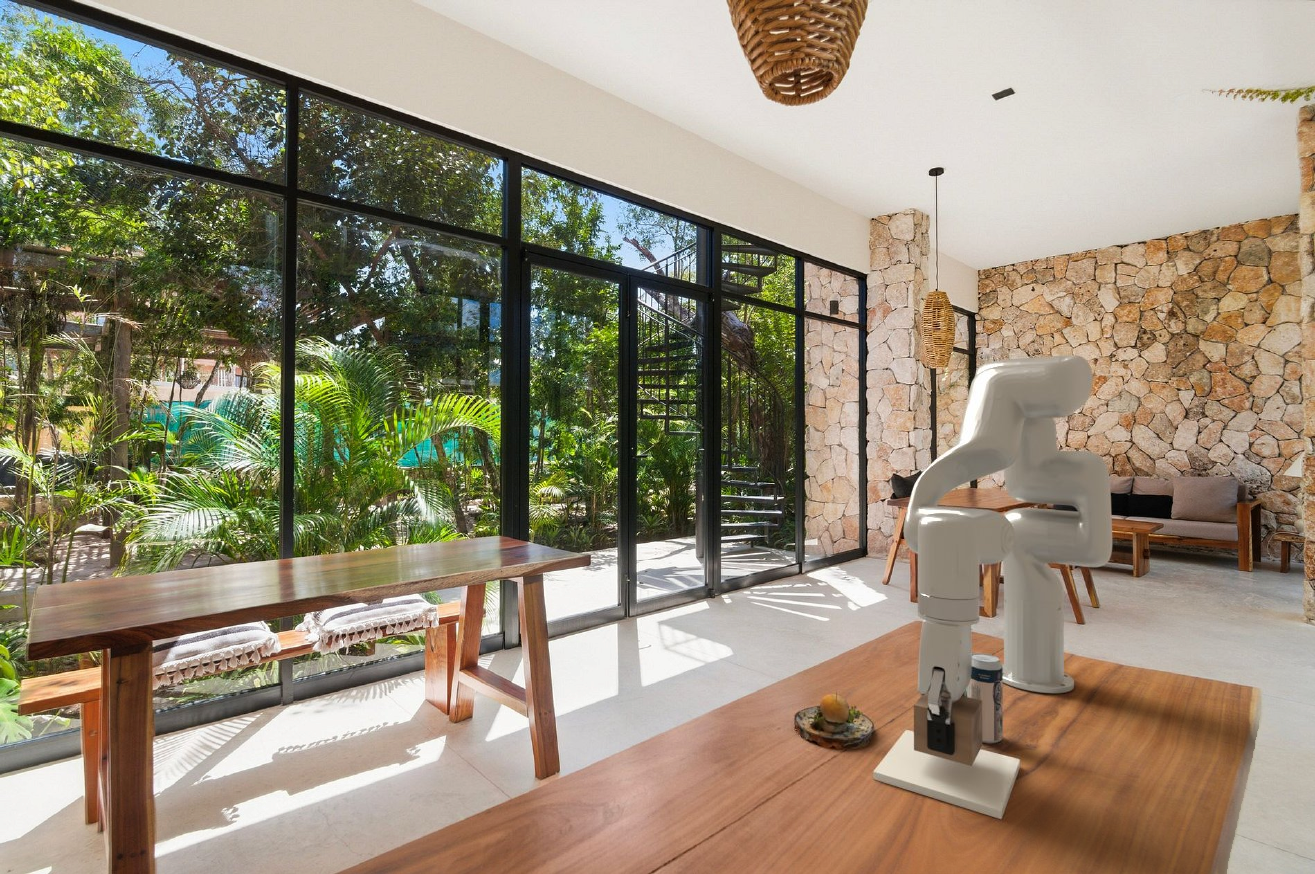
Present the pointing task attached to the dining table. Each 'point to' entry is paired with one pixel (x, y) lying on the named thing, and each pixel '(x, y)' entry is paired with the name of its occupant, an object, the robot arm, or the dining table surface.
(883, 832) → the dining table surface
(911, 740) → the stone tile
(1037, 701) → the dining table surface
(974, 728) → the walnut block
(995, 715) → the beer can
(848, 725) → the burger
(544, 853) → the dining table surface
